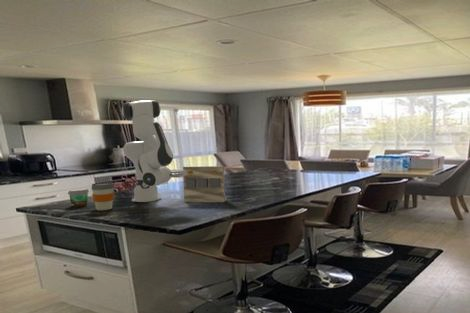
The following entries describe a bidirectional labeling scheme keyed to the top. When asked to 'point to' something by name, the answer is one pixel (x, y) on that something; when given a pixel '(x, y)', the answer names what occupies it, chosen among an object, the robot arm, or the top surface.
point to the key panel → (204, 192)
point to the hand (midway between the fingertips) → (173, 171)
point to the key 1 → (191, 182)
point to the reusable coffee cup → (103, 195)
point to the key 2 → (215, 182)
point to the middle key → (202, 182)
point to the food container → (78, 197)
